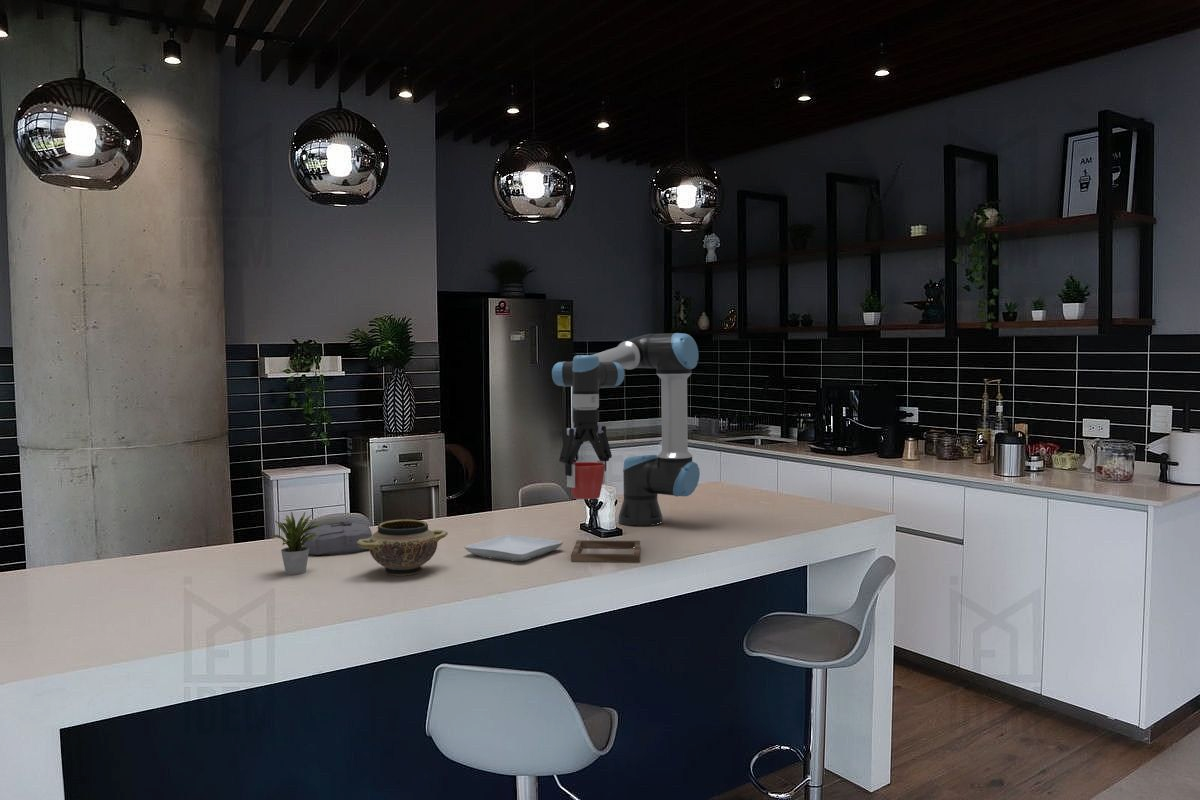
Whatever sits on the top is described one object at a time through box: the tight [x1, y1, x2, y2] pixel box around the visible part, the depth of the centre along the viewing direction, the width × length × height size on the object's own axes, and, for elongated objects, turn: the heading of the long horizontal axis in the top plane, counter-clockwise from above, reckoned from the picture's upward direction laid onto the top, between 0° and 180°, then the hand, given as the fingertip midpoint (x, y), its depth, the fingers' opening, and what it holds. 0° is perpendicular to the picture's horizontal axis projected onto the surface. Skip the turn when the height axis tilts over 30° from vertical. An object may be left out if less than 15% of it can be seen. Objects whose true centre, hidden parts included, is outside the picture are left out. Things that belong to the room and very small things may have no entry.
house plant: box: [270, 510, 323, 576], centre depth 229 cm, size 14×14×16 cm
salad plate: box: [464, 534, 564, 562], centre depth 252 cm, size 21×21×3 cm
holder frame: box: [570, 539, 641, 563], centre depth 250 cm, size 19×19×2 cm
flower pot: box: [570, 461, 605, 500], centre depth 250 cm, size 11×11×10 cm
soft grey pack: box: [301, 521, 373, 556], centre depth 257 cm, size 15×8×20 cm
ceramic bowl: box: [357, 518, 449, 577], centre depth 231 cm, size 24×18×15 cm
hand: (586, 485), depth 250 cm, fingers closed on flower pot, 11 cm apart
